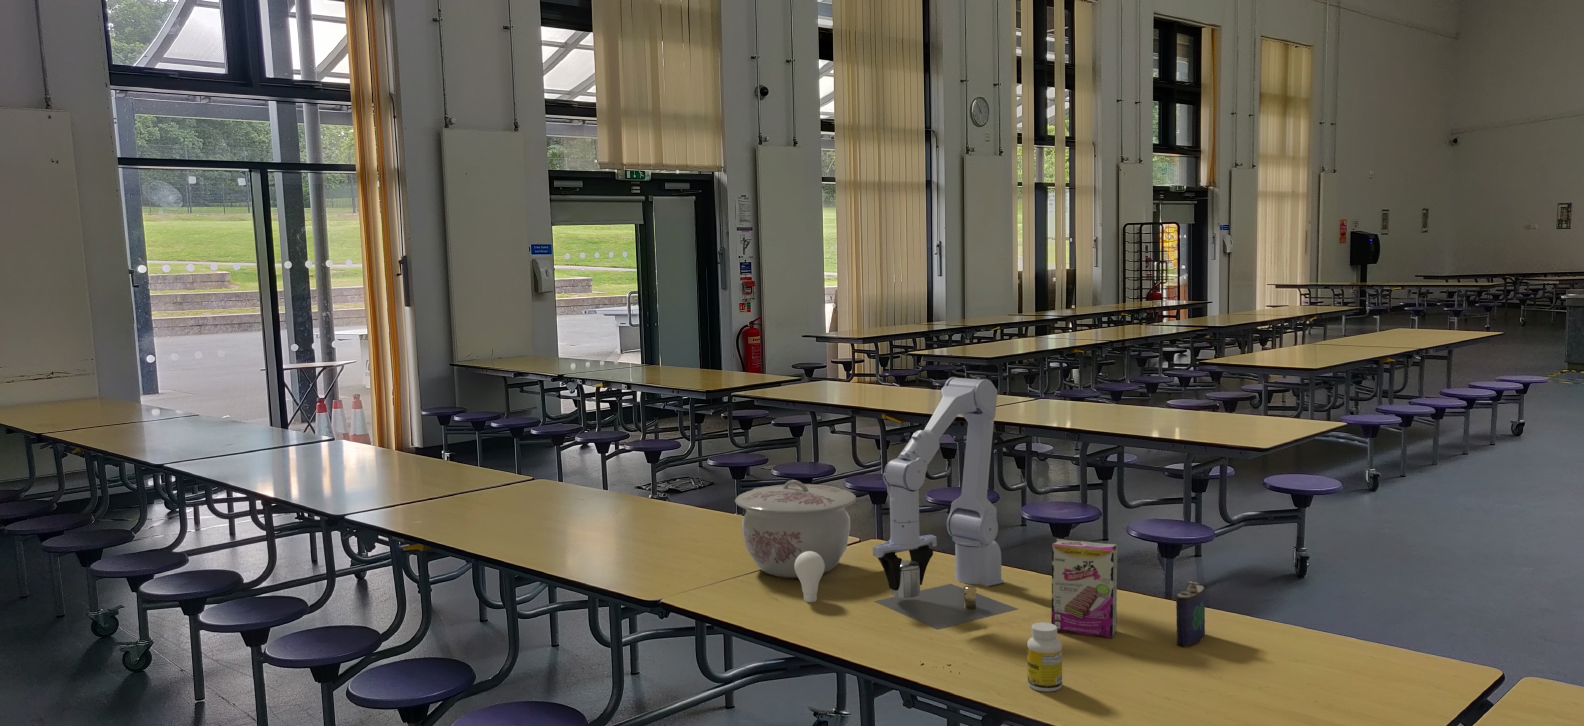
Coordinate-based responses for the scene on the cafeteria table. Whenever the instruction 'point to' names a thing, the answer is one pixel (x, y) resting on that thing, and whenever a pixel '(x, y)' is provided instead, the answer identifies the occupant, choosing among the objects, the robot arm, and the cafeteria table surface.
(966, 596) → the tan rounded cylinder
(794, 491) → the chamber pot
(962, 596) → the base board
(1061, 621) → the candy bar box
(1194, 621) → the flask
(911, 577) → the cylinder
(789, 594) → the cafeteria table surface
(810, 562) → the lightbulb
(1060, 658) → the supplement bottle
